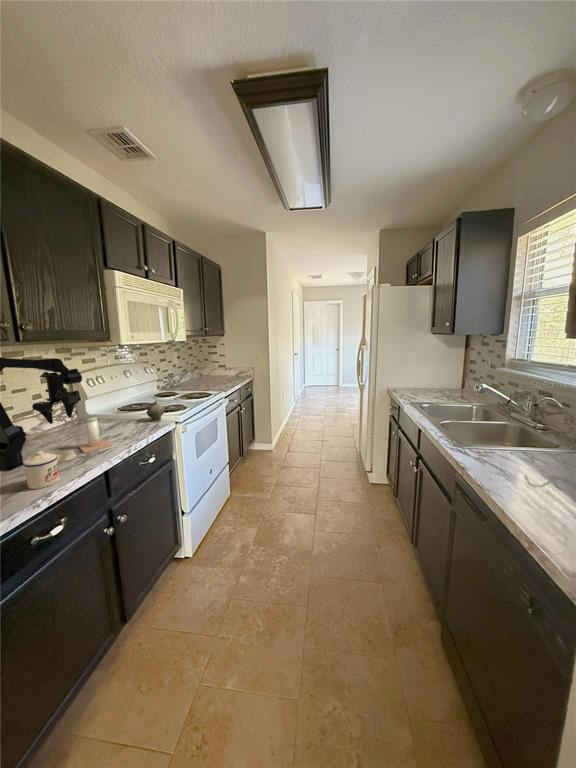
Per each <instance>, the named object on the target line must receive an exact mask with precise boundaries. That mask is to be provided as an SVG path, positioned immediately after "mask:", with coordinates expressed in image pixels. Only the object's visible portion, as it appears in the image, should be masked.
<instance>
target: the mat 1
mask: <svg viewBox="0 0 576 768" xmlns="http://www.w3.org/2000/svg"><path fill="white" fill-rule="evenodd" d="M55 455H56V456H57V464H58V463H63V462H67V461H70V460H74V459H78V458H79V457H78V455H77V453H75V452H74V450H70V451H65V452H62V453H58V454H55Z"/></svg>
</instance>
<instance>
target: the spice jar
mask: <svg viewBox="0 0 576 768" xmlns="http://www.w3.org/2000/svg"><path fill="white" fill-rule="evenodd" d="M84 422H85V430H86V437H87V443H88V444H89V447H95V446H99V445H100V444H101V443H100V440H101V439H100V438H101V436H100V431H99V422H98V417H97V416H88V417H85V418H84Z"/></svg>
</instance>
